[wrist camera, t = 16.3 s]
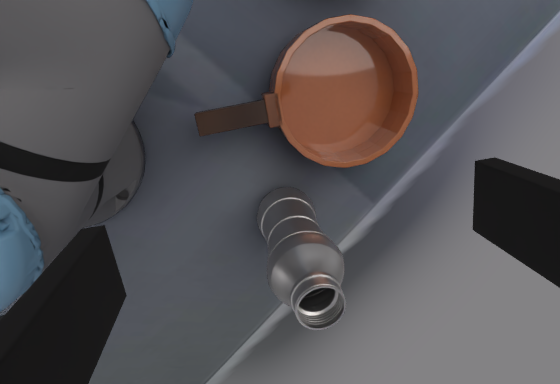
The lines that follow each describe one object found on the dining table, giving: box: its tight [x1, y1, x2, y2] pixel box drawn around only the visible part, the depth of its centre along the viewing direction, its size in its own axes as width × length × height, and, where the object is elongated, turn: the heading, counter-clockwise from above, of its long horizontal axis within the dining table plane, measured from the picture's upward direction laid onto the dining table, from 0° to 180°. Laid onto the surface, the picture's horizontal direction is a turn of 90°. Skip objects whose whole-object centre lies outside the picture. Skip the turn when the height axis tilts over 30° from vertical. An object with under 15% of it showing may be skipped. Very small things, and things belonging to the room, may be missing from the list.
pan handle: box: [194, 91, 283, 136], centre depth 38 cm, size 8×3×3 cm, turn 100°
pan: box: [269, 14, 418, 168], centre depth 40 cm, size 14×14×5 cm
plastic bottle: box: [257, 187, 346, 330], centre depth 36 cm, size 6×7×20 cm
